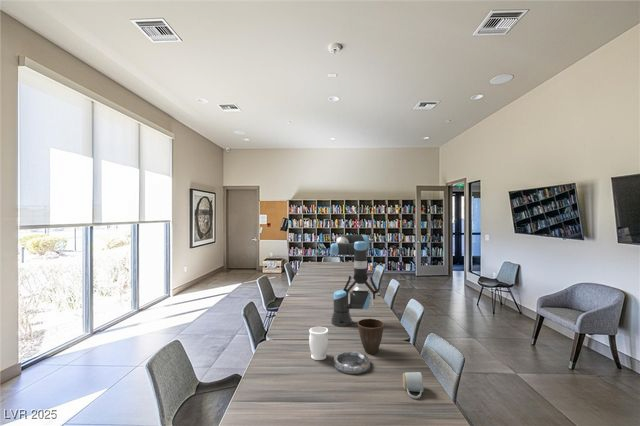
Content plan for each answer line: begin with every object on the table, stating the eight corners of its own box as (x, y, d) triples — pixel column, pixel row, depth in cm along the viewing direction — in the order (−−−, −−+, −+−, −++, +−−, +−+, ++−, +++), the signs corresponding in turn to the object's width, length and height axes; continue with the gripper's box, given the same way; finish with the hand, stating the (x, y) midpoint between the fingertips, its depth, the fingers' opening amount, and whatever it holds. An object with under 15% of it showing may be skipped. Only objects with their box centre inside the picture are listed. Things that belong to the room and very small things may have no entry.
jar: (330, 354, 165) (330, 327, 165) (324, 362, 155) (324, 334, 155) (313, 351, 168) (313, 325, 169) (306, 359, 159) (306, 332, 159)
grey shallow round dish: (326, 364, 154) (326, 357, 154) (350, 352, 167) (350, 346, 167) (353, 379, 140) (353, 371, 140) (377, 365, 153) (377, 358, 153)
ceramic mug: (402, 384, 135) (401, 368, 135) (420, 385, 134) (420, 369, 134) (405, 399, 125) (405, 381, 125) (425, 400, 124) (425, 382, 124)
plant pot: (368, 359, 159) (367, 329, 159) (352, 348, 172) (352, 321, 172) (389, 353, 166) (389, 325, 166) (373, 343, 179) (373, 317, 179)
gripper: (338, 268, 171) (338, 304, 171) (382, 269, 166) (382, 307, 165) (340, 266, 179) (340, 300, 178) (382, 267, 173) (382, 303, 173)
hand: (360, 304), depth 172 cm, fingers open, 13 cm apart
